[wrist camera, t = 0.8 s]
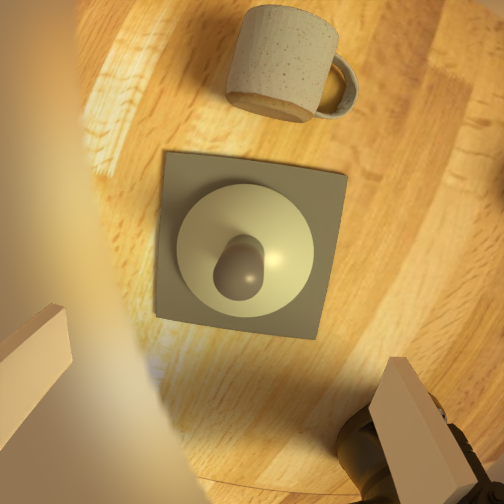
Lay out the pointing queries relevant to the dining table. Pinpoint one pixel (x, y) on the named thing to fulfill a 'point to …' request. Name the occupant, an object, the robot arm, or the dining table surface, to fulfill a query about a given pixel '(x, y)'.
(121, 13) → the dining table surface
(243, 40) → the ceramic mug
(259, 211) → the lid
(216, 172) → the mat
